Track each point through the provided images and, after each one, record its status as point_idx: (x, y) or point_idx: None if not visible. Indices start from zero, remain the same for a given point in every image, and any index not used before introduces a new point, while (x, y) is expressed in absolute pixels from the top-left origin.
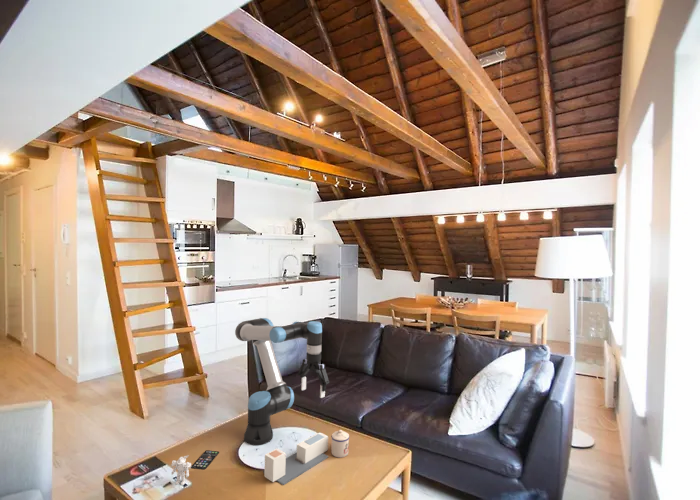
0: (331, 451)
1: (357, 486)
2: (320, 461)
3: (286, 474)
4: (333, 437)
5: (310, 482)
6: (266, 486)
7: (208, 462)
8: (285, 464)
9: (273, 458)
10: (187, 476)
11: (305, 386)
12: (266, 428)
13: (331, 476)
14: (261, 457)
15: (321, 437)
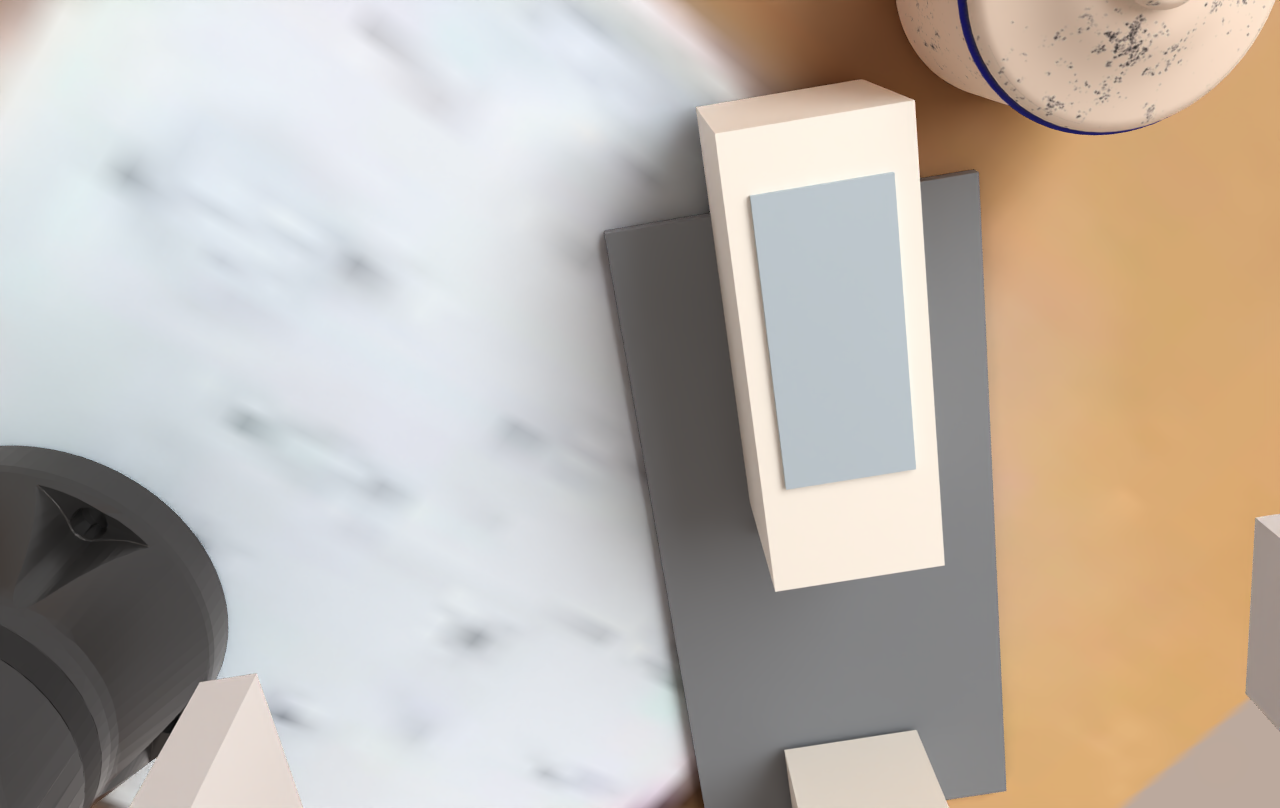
0: (943, 78)
1: None
2: (983, 315)
3: (909, 709)
4: (1092, 124)
5: (1158, 586)
6: None
7: None
8: (948, 806)
9: None
10: None
11: (230, 776)
12: (114, 678)
13: (1262, 372)
14: (467, 743)
15: (875, 225)
